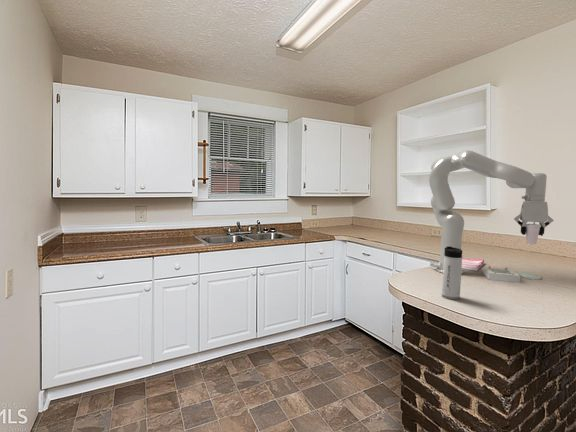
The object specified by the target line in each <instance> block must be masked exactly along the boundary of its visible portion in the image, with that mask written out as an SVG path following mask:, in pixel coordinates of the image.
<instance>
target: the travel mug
mask: <svg viewBox="0 0 576 432" xmlns="http://www.w3.org/2000/svg"><path fill="white" fill-rule="evenodd" d="M444 253H445V254H444V267H443V273H442V288H441V289H442V291H441V292H442V293H441V295H442V298H444V299H447V300H451V299H452V301H457V300H460V298H461V282H462V274H461V270H463V269H462V258H463V250H462V248H461V249H458V248H454V247H451V246H447V247H446V248H445V252H444Z"/></svg>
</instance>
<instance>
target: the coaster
mask: <svg viewBox="0 0 576 432" xmlns="http://www.w3.org/2000/svg"><path fill="white" fill-rule="evenodd" d="M516 273H517V274H518V275H519V276H520V278H523V279H527V280H528V279H529V280H542V278H543V277H542V276H541V275H539V274H536V273H530V272H516Z"/></svg>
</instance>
